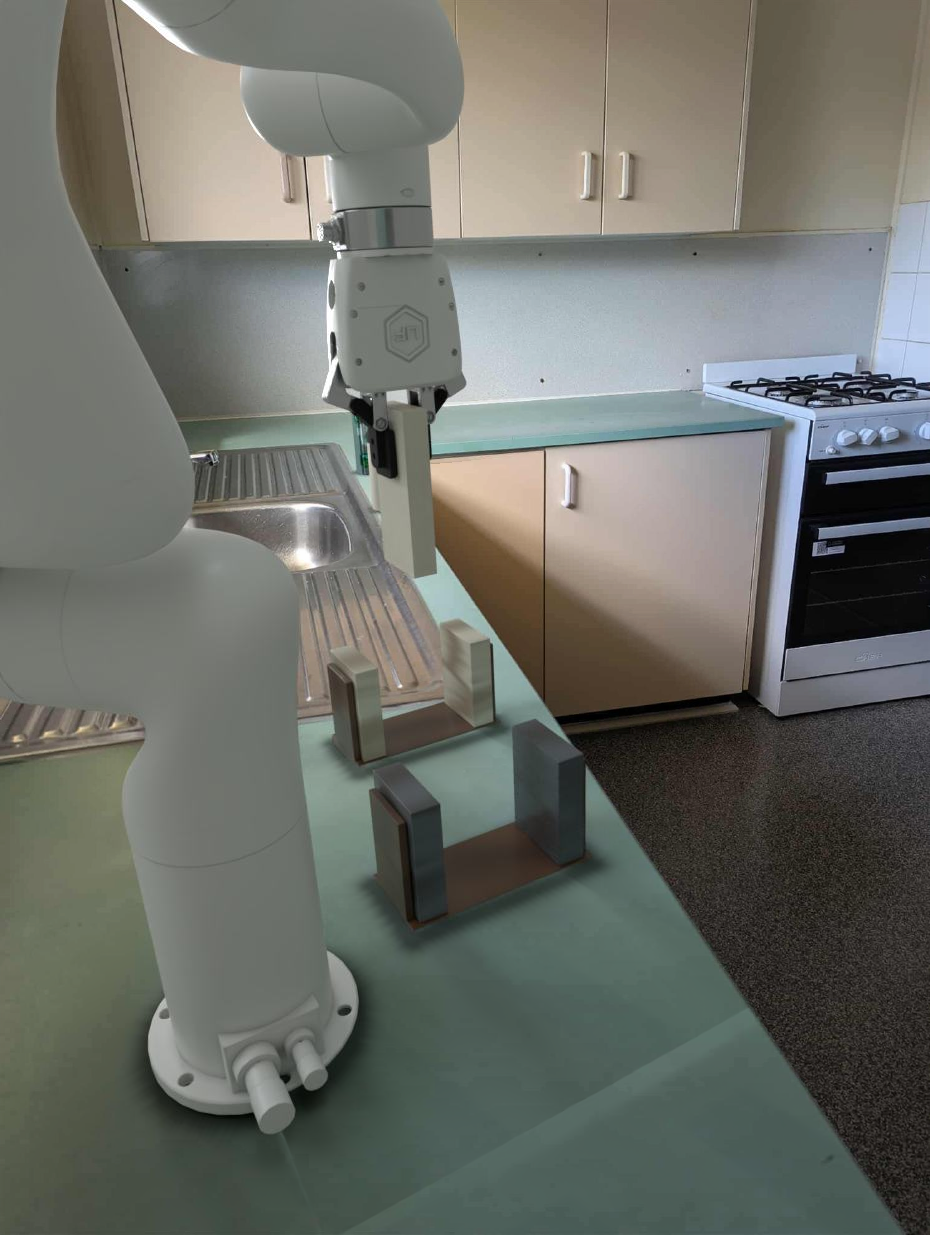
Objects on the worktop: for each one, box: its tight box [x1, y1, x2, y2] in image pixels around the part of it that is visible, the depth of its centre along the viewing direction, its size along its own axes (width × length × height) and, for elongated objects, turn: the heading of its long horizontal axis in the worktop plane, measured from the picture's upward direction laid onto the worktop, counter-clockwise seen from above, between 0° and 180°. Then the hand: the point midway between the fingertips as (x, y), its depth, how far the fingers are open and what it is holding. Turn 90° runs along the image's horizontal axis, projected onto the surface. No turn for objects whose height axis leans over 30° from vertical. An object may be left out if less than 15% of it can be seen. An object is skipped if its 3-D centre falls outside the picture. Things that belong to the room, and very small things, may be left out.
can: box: [350, 412, 370, 476], centre depth 200 cm, size 6×6×15 cm
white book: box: [377, 400, 438, 580], centre depth 75 cm, size 6×2×14 cm, turn 28°
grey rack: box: [368, 718, 594, 932], centre depth 64 cm, size 7×15×10 cm, turn 119°
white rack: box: [326, 617, 501, 767], centre depth 85 cm, size 7×15×10 cm, turn 119°
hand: (402, 471), depth 74 cm, fingers closed on white book, 2 cm apart
